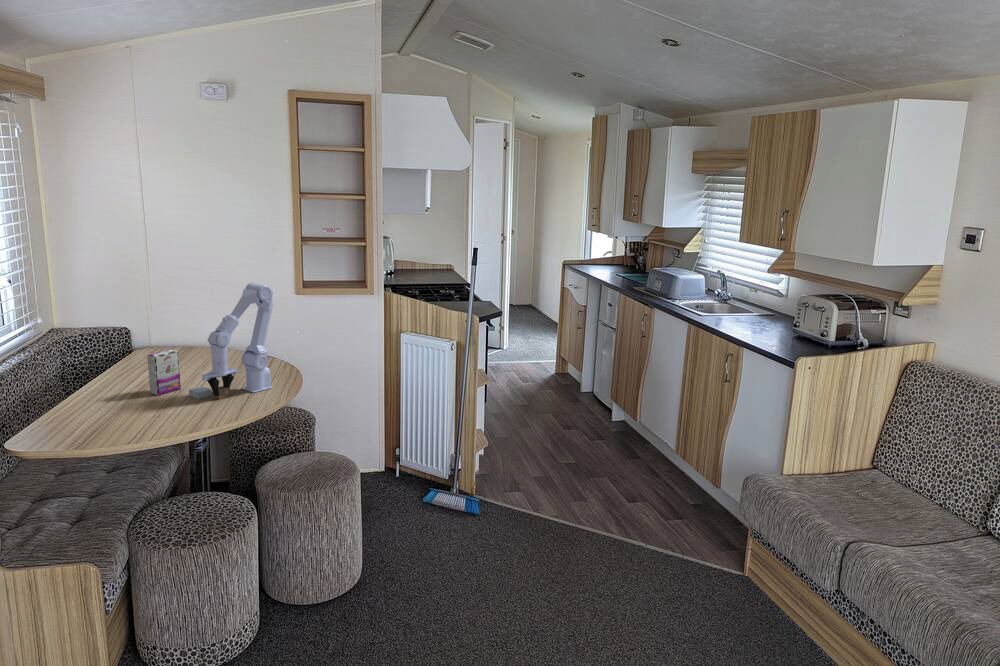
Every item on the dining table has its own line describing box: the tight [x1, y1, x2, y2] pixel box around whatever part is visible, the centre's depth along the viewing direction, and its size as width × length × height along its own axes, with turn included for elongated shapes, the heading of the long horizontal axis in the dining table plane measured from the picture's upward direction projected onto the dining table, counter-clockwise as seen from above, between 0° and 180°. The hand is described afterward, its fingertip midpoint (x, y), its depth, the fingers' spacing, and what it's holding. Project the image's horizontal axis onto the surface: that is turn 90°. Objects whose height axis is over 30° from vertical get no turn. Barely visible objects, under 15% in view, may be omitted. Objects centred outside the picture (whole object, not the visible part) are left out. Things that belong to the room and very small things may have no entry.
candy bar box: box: [146, 348, 182, 396], centre depth 285 cm, size 11×5×16 cm, turn 155°
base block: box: [188, 386, 213, 400], centre depth 283 cm, size 6×6×3 cm
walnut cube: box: [213, 385, 230, 401], centre depth 282 cm, size 4×4×4 cm
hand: (221, 394), depth 282 cm, fingers closed on walnut cube, 4 cm apart
